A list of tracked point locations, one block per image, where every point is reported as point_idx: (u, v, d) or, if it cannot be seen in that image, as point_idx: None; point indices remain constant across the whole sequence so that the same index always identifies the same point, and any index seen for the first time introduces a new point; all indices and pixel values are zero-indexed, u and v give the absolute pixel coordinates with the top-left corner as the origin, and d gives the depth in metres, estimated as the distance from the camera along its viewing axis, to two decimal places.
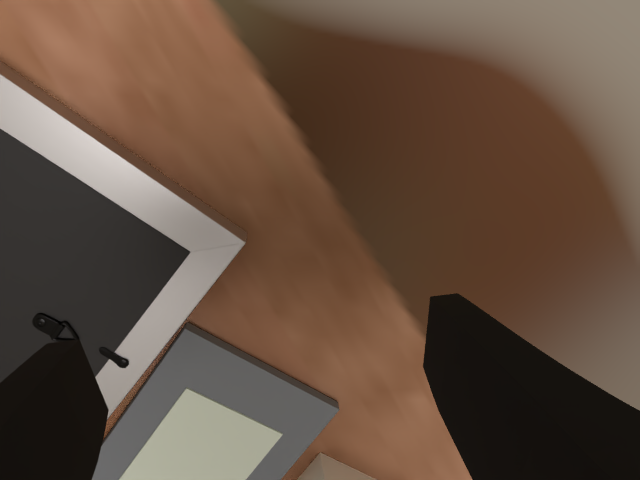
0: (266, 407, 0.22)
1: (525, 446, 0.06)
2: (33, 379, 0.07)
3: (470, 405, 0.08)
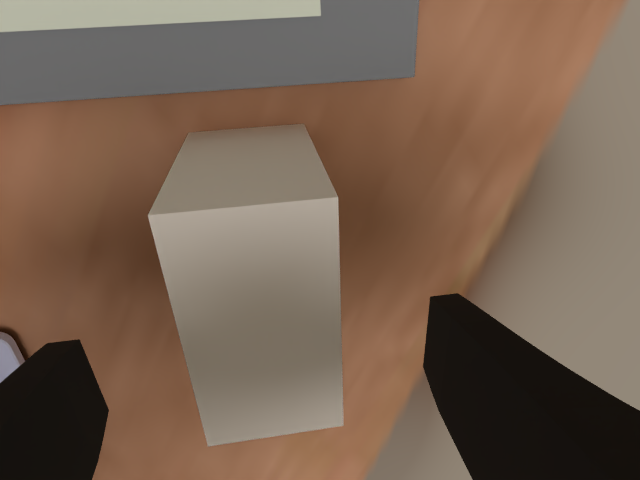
0: None
1: (525, 446, 0.06)
2: (33, 379, 0.07)
3: (470, 405, 0.08)
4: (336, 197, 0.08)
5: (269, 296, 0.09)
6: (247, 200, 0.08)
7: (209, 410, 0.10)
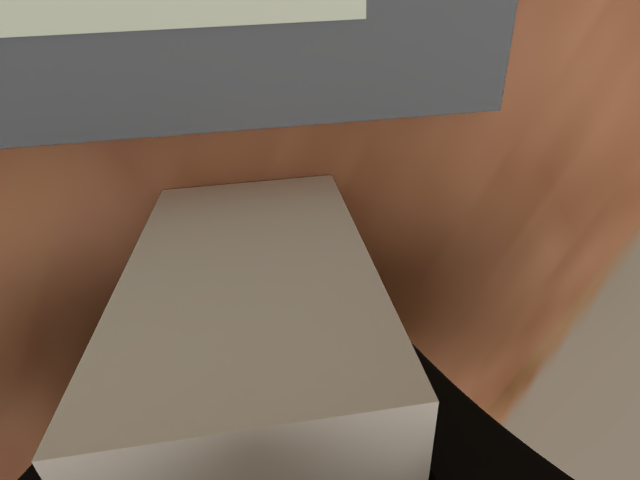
0: None
1: None
2: None
3: None
4: (435, 402, 0.04)
5: None
6: (249, 405, 0.04)
7: None
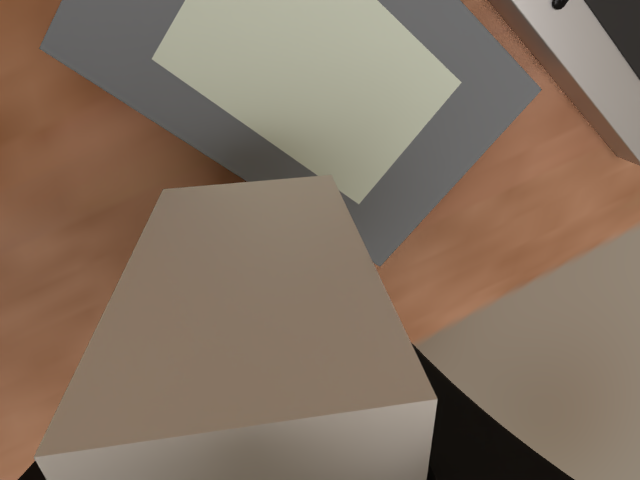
0: (403, 183, 0.17)
1: None
2: None
3: None
4: (434, 399, 0.04)
5: None
6: (249, 403, 0.04)
7: None
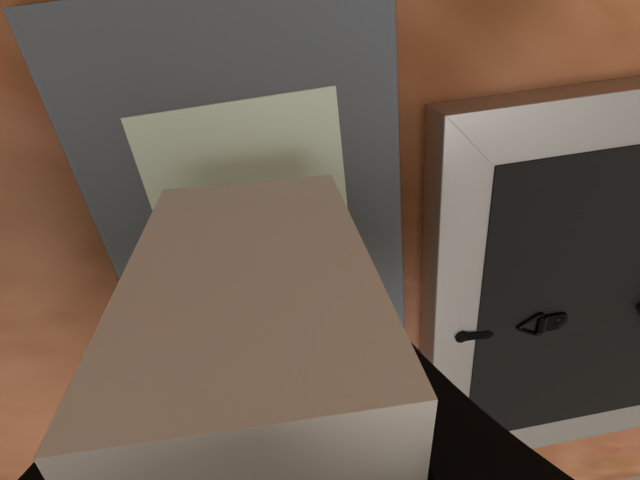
0: None
1: None
2: None
3: None
4: (434, 400, 0.04)
5: None
6: (249, 404, 0.04)
7: None
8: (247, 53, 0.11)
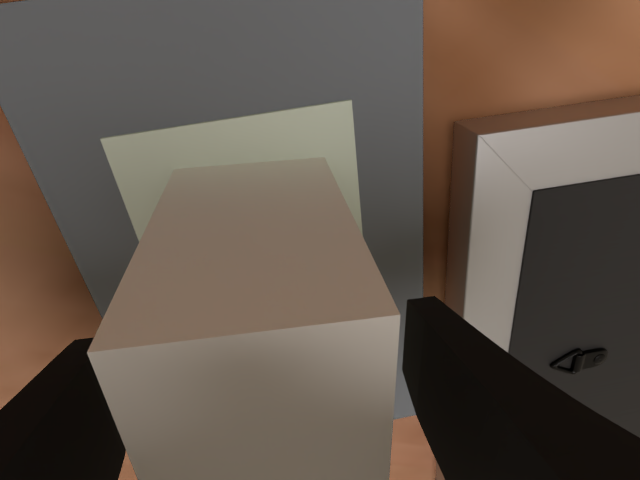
0: None
1: (492, 452, 0.06)
2: (66, 375, 0.07)
3: (443, 409, 0.08)
4: (397, 315, 0.05)
5: (286, 449, 0.06)
6: (252, 318, 0.05)
7: None
8: (248, 62, 0.09)
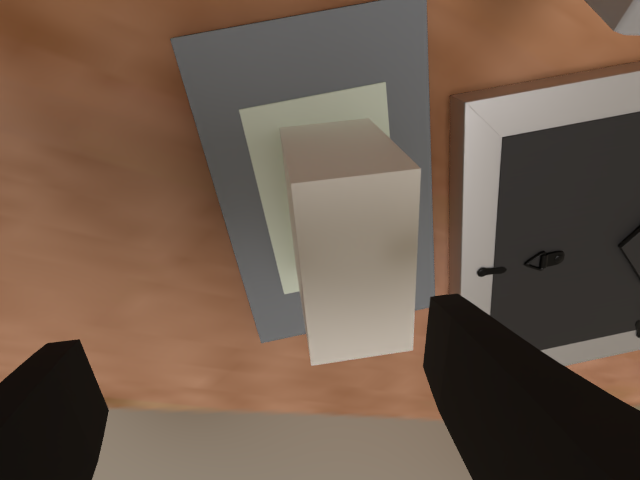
0: None
1: (525, 446, 0.06)
2: (33, 379, 0.07)
3: (471, 405, 0.08)
4: (419, 168, 0.11)
5: (367, 244, 0.12)
6: (356, 172, 0.12)
7: (315, 334, 0.14)
8: (326, 61, 0.16)
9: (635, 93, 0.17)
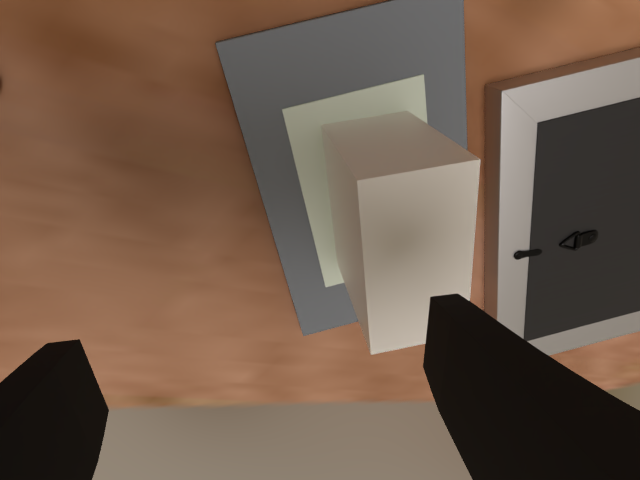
0: None
1: (525, 446, 0.06)
2: (33, 379, 0.07)
3: (470, 405, 0.08)
4: (479, 159, 0.12)
5: (427, 234, 0.13)
6: (417, 166, 0.12)
7: (375, 324, 0.14)
8: (365, 57, 0.16)
9: None
